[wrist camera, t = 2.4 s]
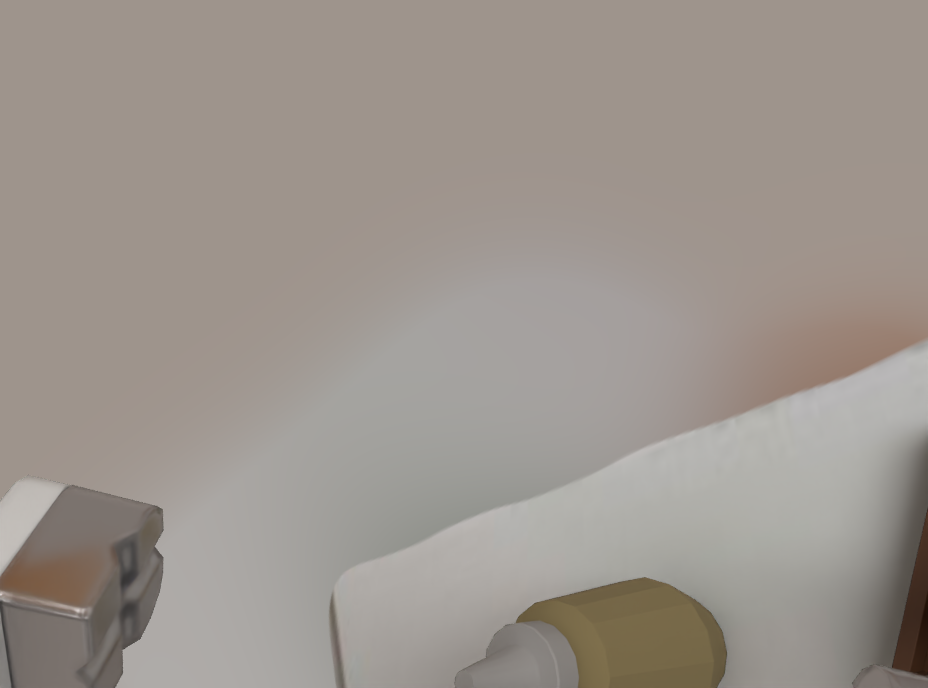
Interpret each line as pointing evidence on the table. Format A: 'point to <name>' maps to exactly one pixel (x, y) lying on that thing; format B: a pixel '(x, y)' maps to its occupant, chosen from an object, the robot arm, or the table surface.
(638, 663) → the squeeze bottle
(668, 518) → the table surface
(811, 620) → the table surface
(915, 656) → the tray
